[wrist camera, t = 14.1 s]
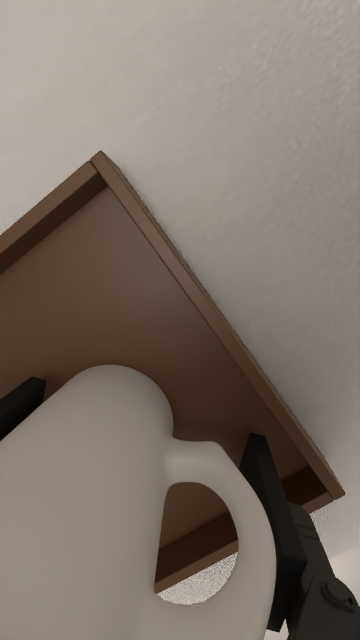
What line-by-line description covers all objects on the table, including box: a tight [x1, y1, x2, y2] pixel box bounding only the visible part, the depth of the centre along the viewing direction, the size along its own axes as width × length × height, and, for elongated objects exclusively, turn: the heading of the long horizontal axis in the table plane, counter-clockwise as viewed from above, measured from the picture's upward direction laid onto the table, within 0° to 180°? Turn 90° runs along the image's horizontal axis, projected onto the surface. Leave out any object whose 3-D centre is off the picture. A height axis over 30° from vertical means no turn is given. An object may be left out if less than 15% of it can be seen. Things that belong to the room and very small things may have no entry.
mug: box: [0, 365, 276, 640], centre depth 11 cm, size 10×7×12 cm, turn 92°
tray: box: [0, 151, 345, 594], centre depth 18 cm, size 29×18×2 cm, turn 126°
